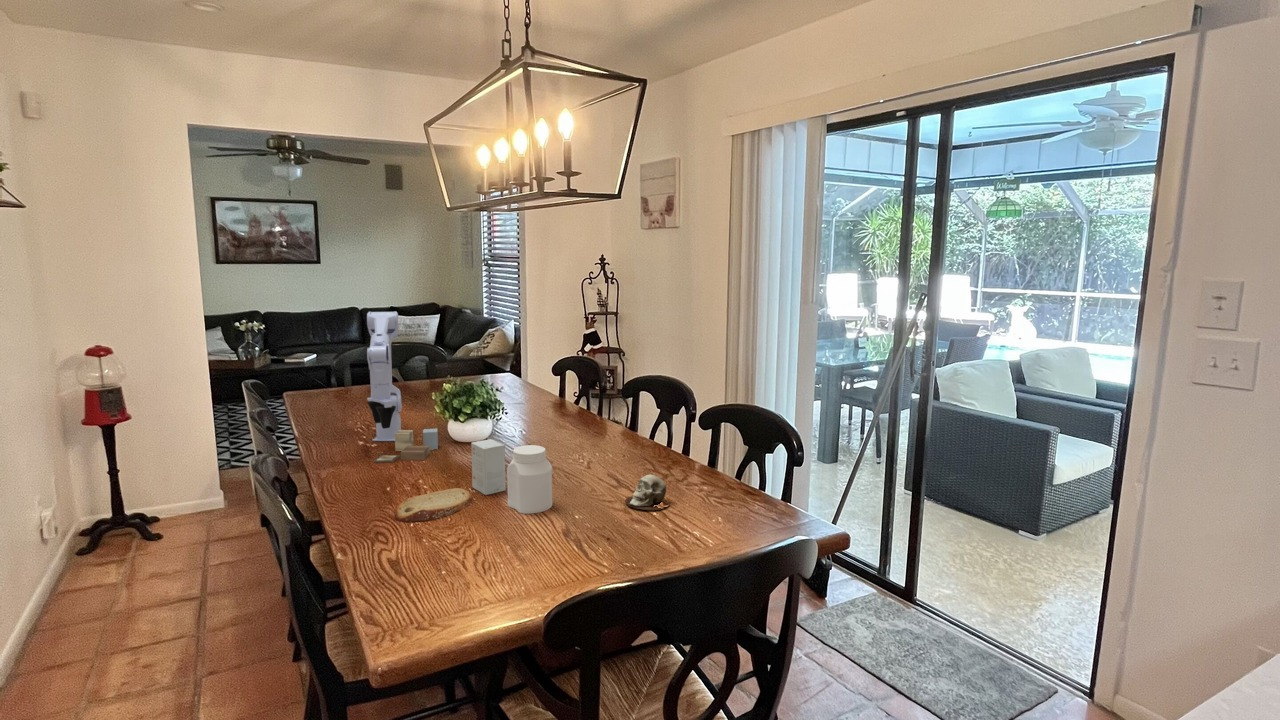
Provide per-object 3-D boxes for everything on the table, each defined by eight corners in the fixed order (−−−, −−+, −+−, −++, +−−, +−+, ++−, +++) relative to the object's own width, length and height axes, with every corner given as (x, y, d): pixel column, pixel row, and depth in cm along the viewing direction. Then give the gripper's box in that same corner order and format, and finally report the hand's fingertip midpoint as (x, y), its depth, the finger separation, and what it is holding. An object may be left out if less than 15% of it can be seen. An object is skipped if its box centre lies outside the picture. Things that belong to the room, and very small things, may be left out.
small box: (506, 490, 187) (505, 444, 184) (485, 495, 183) (484, 449, 180) (492, 482, 193) (491, 438, 191) (471, 487, 189) (470, 442, 187)
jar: (502, 503, 177) (501, 447, 175) (534, 495, 183) (533, 441, 181) (525, 516, 169) (524, 458, 166) (557, 507, 175) (557, 451, 172)
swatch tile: (380, 456, 215) (380, 454, 215) (399, 456, 215) (399, 454, 215) (373, 462, 209) (373, 460, 209) (393, 462, 210) (393, 460, 209)
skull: (644, 513, 169) (628, 476, 174) (628, 529, 177) (613, 493, 181) (682, 502, 176) (666, 467, 180) (665, 518, 183) (650, 483, 188)
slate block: (423, 446, 227) (423, 429, 226) (437, 445, 228) (437, 428, 227) (423, 450, 223) (422, 432, 222) (437, 449, 224) (437, 431, 223)
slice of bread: (473, 495, 184) (473, 481, 183) (467, 521, 166) (467, 506, 166) (404, 498, 181) (403, 484, 180) (391, 524, 163) (390, 510, 163)
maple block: (400, 447, 226) (399, 430, 225) (413, 447, 226) (412, 430, 225) (395, 451, 221) (394, 433, 220) (409, 451, 221) (408, 433, 220)
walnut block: (408, 454, 219) (407, 445, 219) (429, 454, 219) (429, 445, 219) (400, 461, 212) (400, 452, 212) (423, 461, 212) (423, 452, 212)
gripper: (360, 380, 216) (362, 422, 218) (374, 388, 205) (376, 432, 207) (383, 378, 220) (385, 419, 223) (397, 386, 209) (399, 428, 211)
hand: (382, 425), depth 215 cm, fingers open, 7 cm apart
